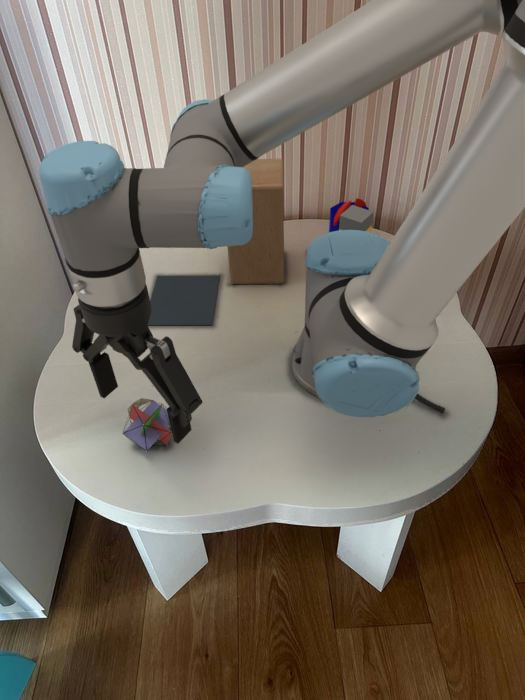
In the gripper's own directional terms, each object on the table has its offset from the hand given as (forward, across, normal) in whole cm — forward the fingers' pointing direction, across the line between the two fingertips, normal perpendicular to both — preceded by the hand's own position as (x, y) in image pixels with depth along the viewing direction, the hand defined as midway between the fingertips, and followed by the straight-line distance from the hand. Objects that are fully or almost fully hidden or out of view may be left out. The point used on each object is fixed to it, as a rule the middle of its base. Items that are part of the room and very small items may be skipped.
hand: (144, 412), depth 76 cm
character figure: (+6, +9, +41) cm, 43 cm away
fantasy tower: (+6, +1, +54) cm, 55 cm away
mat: (+6, -17, +26) cm, 32 cm away
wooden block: (+6, -11, +41) cm, 43 cm away
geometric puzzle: (+6, 0, 0) cm, 6 cm away
